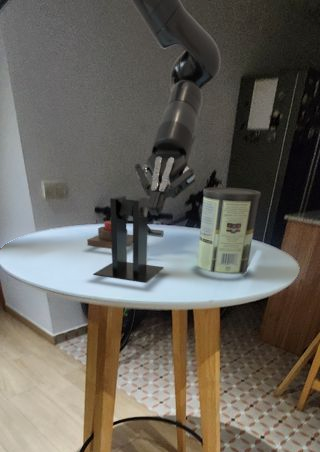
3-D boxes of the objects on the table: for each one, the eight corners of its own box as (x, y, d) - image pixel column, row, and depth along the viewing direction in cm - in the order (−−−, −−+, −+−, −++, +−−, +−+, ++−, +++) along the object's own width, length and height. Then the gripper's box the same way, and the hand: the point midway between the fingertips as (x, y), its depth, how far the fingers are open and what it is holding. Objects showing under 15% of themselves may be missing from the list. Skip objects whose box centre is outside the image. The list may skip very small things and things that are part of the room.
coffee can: (225, 261, 80) (236, 186, 71) (257, 275, 72) (273, 193, 64) (185, 266, 75) (192, 187, 67) (215, 281, 68) (227, 194, 60)
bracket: (116, 266, 73) (114, 192, 65) (163, 273, 71) (167, 197, 63) (93, 280, 65) (88, 198, 58) (145, 288, 63) (147, 204, 55)
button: (102, 231, 82) (101, 222, 81) (108, 228, 85) (108, 220, 84) (116, 233, 81) (116, 224, 80) (123, 230, 84) (122, 221, 83)
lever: (134, 237, 73) (136, 225, 73) (162, 241, 72) (164, 228, 72) (108, 213, 61) (111, 197, 61) (142, 216, 60) (144, 201, 59)
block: (87, 250, 82) (86, 230, 80) (106, 241, 90) (106, 223, 88) (120, 254, 81) (120, 234, 78) (136, 245, 88) (136, 227, 86)
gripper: (140, 117, 72) (116, 195, 70) (205, 120, 69) (183, 201, 67) (149, 150, 79) (127, 221, 77) (208, 154, 76) (187, 228, 74)
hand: (153, 212), depth 72 cm, fingers closed
